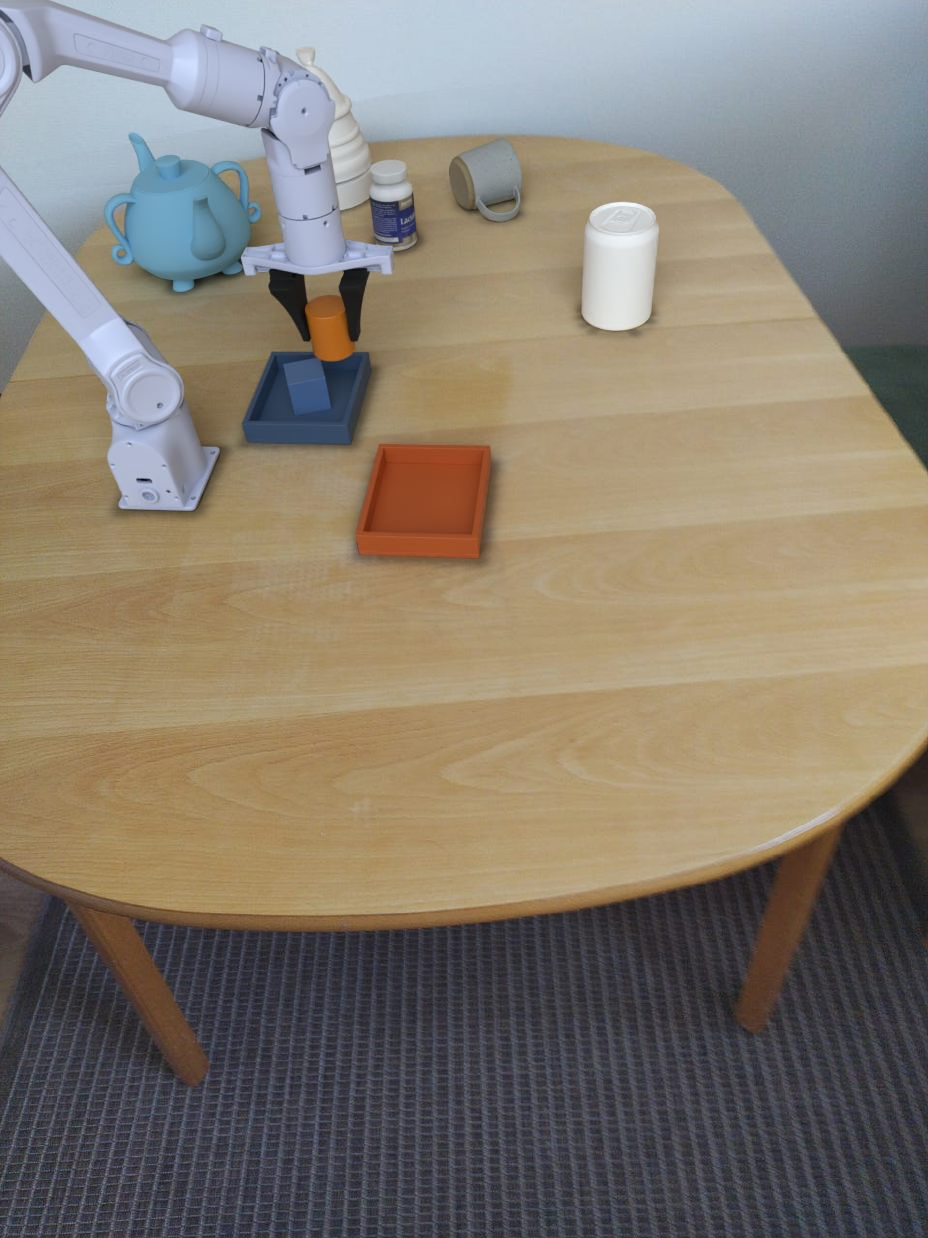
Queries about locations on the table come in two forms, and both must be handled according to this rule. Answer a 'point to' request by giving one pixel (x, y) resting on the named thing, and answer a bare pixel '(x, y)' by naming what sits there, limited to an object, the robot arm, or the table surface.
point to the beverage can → (619, 265)
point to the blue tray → (278, 423)
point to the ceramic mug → (487, 178)
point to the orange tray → (425, 501)
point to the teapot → (182, 218)
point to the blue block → (307, 386)
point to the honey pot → (343, 142)
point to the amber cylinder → (329, 328)
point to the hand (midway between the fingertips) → (332, 336)
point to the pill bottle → (392, 205)
